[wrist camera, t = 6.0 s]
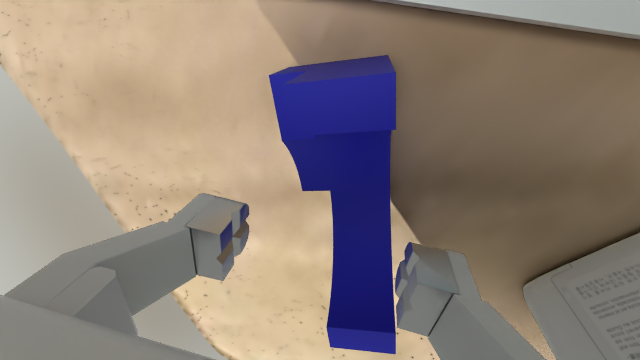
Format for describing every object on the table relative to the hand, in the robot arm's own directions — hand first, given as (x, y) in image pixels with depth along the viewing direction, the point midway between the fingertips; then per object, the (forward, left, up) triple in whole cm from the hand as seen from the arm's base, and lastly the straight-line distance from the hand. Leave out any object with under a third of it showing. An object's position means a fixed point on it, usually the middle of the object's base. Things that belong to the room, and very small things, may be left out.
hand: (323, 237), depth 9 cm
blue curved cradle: (0, +1, -7) cm, 7 cm away
